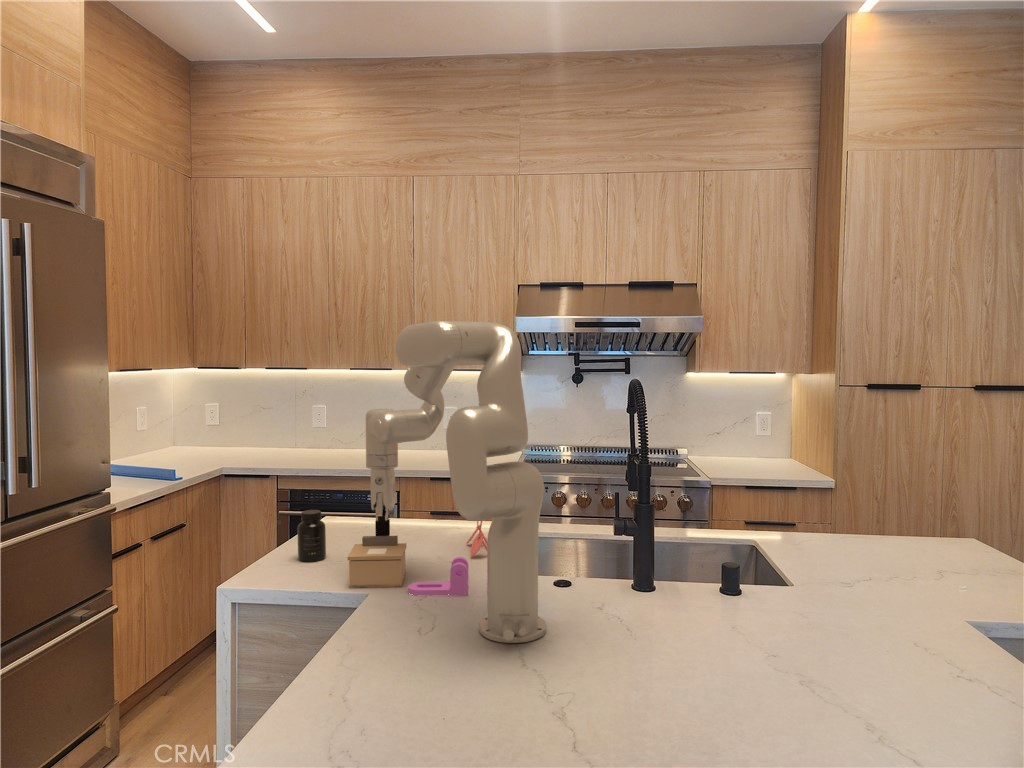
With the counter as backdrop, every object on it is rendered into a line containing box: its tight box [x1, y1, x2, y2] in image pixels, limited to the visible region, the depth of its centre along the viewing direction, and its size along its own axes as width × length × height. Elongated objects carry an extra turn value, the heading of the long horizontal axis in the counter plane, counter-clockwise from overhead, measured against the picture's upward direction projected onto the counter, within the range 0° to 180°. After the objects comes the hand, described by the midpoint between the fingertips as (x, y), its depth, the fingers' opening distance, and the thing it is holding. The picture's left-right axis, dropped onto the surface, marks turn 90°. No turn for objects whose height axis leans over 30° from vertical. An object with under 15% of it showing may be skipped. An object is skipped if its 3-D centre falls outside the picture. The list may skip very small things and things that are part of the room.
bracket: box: [407, 556, 469, 596], centre depth 150 cm, size 13×6×7 cm, turn 92°
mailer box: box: [348, 552, 406, 588], centre depth 157 cm, size 9×11×6 cm
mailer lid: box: [346, 535, 408, 561], centre depth 156 cm, size 10×12×3 cm
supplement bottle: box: [296, 509, 327, 563], centre depth 173 cm, size 7×7×12 cm
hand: (382, 536), depth 165 cm, fingers closed
